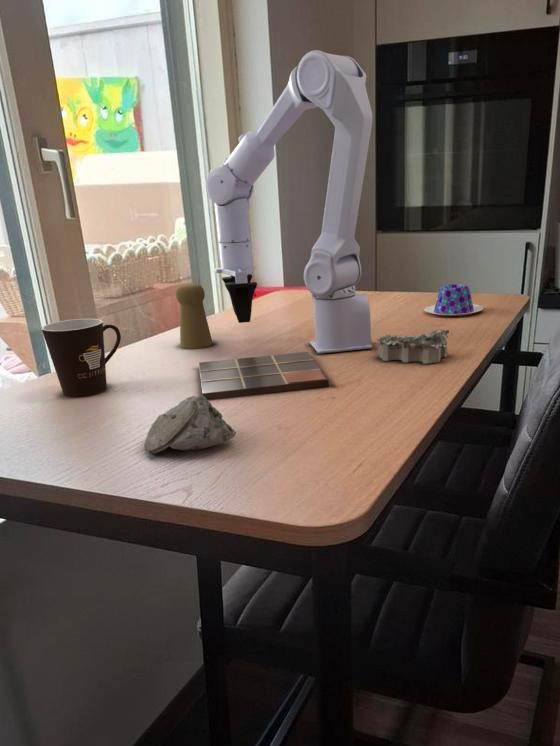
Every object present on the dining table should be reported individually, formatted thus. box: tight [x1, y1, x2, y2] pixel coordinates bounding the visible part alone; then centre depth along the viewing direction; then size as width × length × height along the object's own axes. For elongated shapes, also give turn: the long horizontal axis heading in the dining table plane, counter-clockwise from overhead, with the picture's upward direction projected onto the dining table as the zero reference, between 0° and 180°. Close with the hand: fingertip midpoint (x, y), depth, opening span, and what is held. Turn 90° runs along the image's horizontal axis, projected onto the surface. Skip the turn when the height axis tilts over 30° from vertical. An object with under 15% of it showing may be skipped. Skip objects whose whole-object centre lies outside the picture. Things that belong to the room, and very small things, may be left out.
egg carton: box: [376, 329, 450, 365], centre depth 112 cm, size 11×8×4 cm
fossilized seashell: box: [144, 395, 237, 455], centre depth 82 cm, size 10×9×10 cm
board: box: [198, 351, 330, 401], centre depth 107 cm, size 18×18×1 cm
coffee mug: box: [40, 318, 122, 398], centre depth 105 cm, size 12×9×10 cm
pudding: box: [424, 283, 484, 317], centre depth 143 cm, size 12×12×5 cm
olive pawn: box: [175, 283, 213, 350], centre depth 128 cm, size 6×6×11 cm
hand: (242, 318), depth 130 cm, fingers open, 7 cm apart
